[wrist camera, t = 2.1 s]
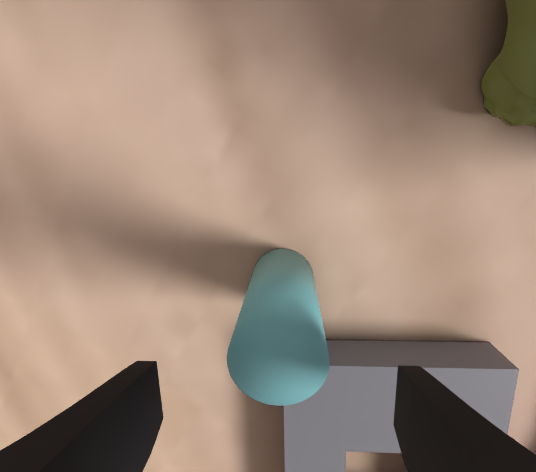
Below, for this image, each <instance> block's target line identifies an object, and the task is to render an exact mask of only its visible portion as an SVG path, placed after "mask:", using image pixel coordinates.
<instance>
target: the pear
mask: <svg viewBox="0 0 536 472" xmlns="http://www.w3.org/2000/svg"><path fill="white" fill-rule="evenodd" d="M505 2H506V8H507V14H508V26H507V32H506V36H505V40H504V45H503V48H502V50H501V52H500V54H499V55H498V56H497V57H496V59H495V60H494V61H493V62H492V63H491V65H490V66H489V67H488V69H487V70H486V72H485V74H484V76H483V79H482V84H481V88H482V92H483V94H484V98H485V100H484V107H485V108H486V109H487V110H488V111H489V112H490V113H491V114H492V116H498V117H499V118H500V119H501V120H502V121H504V122H505V123H506V124H507V125H508V126H518V125H524V124H526V125H529V124H530V125H529V126H533V125H534V126H533V127H536V0H505Z"/></svg>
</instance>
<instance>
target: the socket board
mask: <svg viewBox="0 0 536 472" xmlns="http://www.w3.org/2000/svg"><path fill="white" fill-rule="evenodd" d="M326 343H327V348H328V353H329V361H330V364H329V371H328V375H327V377H326V380H325V382H324V383H323V385H322V386H321V387H320V389H319V390H318V391H317V392H316V393H315V394H313V395H312V396H311V397H309V398H308V399H306V400H304V401H301V402H299V403H296V404H292V405H284V459H285V472H345V467H346V451H351V452H378V453H401V450H400V447H399V443H398V440H397V436H396V432H395V429H394V425H393V423H394V410H395V397H396V384H397V371H398V365H400V366H421V367H422V368H423V369H425V370H426V371H427V372H428V373H430V374H431V375H432V376H433V377H435V378H436V379H437V380H438V381H440V382H441V383H442V384H443V385H444V386H446V387H447V388H448V389H449V390H451V391H452V392H453V393H454V394H456V395H457V396H458V397H459V398H460V399H462V400H463V401H464V402H465V403H467V404H468V405H469V406H470V407H472V408H473V409H474V410H476V411H477V412H478V413H479V414H481V415H482V416H483V417H484V418H486V419H487V420H488V421H490V422H491V423H492V424H494V425H495V426H496V427H498V428H499V429H500V430H502V431H503V432H504V433H506V434H507V433H508V428H509V422H510V417H511V411H512V405H513V400H514V394H515V389H516V383H517V377H518V372H519V369H518V368H517V367H516V366H515V365H514V364H512V363H511V362H510V361H509V360H508V359H507V358H506V357H505V356H504V355H503V354H502V353H501V352H499V351H498V350H497V349H496V348H495V347H494V346H493V345H492V344H491V343H490V342H437V341H362V340H326Z"/></svg>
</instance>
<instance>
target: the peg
mask: <svg viewBox="0 0 536 472" xmlns="http://www.w3.org/2000/svg"><path fill="white" fill-rule="evenodd" d="M329 364H330V361H329V353H328V348H327V343H326V338H325V333H324V328H323V323H322V317H321V312H320V307H319V302H318V297H317V292H316V287H315V282H314V277H313V272H312V268H311V266H310V264H309V262H308V261H307V260H306V259H305V257H303V256H302V255H301V254H299V253H298V252H296V251H293V250H290V249H276V250H272V251H270V252H268V253H266V254H264V255H263V256H262V257H261V258H260V259H259V260H258V262H257V263H256V265H255V268H254V271H253V274H252V277H251V280H250V283H249V286H248V289H247V292H246V296H245V299H244V302H243V305H242V308H241V311H240V314H239V317H238V320H237V323H236V326H235V329H234V333H233V336H232V339H231V342H230V345H229V348H228V353H227V365H228V369H229V373H230V375H231V377H232V379H233V381H234V382H235V384H236V385H237V386H238V388H239V389H240V390H241V391H242V392H244V393H245V394H246V395H248V396H249V397H251V398H252V399H254V400H256V401H259V402H261V403H265V404H269V405H277V406H284V405H292V404H296V403H299V402H301V401H304V400H306V399H308V398H309V397H311V396H312V395H313V394H315V393H316V392H317V391H318V390H319V389H320V387H321V386H322V385H323V383H324V382H325V380H326V377H327V375H328V371H329Z"/></svg>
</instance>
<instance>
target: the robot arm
mask: <svg viewBox="0 0 536 472" xmlns="http://www.w3.org/2000/svg"><path fill="white" fill-rule="evenodd" d="M162 420H163V412H162V403H161V395H160V387H159V378H158V370H157V362H156V361H136V362H135V363H133V364H132V365H130V366H128V367H127V368H125V369H124V370H122V371H121V372H120V373H118V374H117V375H115V376H114V377H112V378H111V379H110V380H108V381H107V382H105V383H104V384H102V385H101V386H100V387H98V388H97V389H95V390H94V391H92V392H91V393H90V394H88V395H87V396H85V397H84V398H82V399H81V400H79V401H78V402H77V403H75V404H74V405H72V406H71V407H69V408H68V409H66V410H65V411H63V412H62V413H60V414H58V415H57V416H55V417H54V418H52V419H51V420H49V421H48V422H46V423H45V424H43V425H41V426H40V427H38V428H37V429H35V430H34V431H32V432H31V433H29V434H27V435H26V436H24V437H22V438H21V439H19V440H17V441H16V442H14V443H12V444H11V445H9V446H7V447H6V448H4V449H2V450H0V472H142V471H143V469H144V467H145V465H146V463H147V461H148V459H149V456H150V454H151V452H152V449H153V446H154V444H155V441H156V438H157V435H158V432H159V429H160V426H161V423H162ZM393 425H394V429H395V432H396V436H397V440H398V443H399V447H400V450H401V453H402V457H403V460H404V463H405V466H406V468H407V471H408V472H536V455H535V454H533V453H532V452H531V451H529V450H528V449H527V448H525V447H524V446H522V445H521V444H520V443H518V442H517V441H515V440H514V439H513V438H511V437H510V436H508V435H507V434H506V433H504V432H503V431H502V430H500V429H499V428H498V427H496V426H495V425H494V424H492V423H491V422H490V421H488V420H487V419H486V418H484V417H483V416H482V415H481V414H479V413H478V412H477V411H476V410H474V409H473V408H472V407H470V406H469V405H468V404H467V403H465V402H464V401H463V400H462V399H460V398H459V397H458V396H457V395H456V394H454V393H453V392H452V391H451V390H449V389H448V388H447V387H446V386H444V385H443V384H442V383H441V382H440V381H438V380H437V379H436V378H435V377H433V376H432V375H431V374H430V373H428V372H427V371H426V370H425V369H423V368H422V367H421V366H400V365H398V371H397V384H396V397H395V410H394V423H393Z"/></svg>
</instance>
